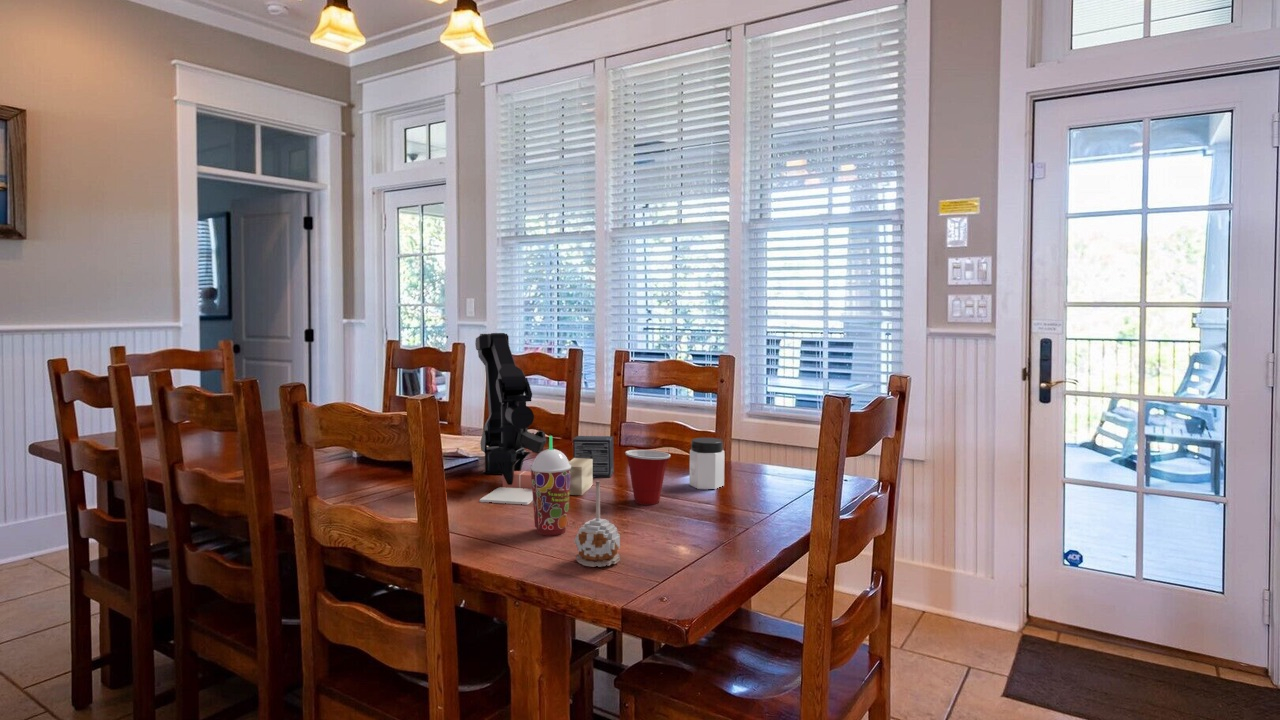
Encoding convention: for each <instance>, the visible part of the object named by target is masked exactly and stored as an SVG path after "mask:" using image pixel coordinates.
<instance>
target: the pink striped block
mask: <svg viewBox="0 0 1280 720" xmlns="http://www.w3.org/2000/svg"><path fill="white" fill-rule="evenodd" d="M501 475H502V478H501V479H502V487H507V488H524V489H532V478H531V471H528V470H527V471H526V470H521V471H514V475H513V482H512V485H508V484H507V482H506V480H505V478H504V476H503V474H501Z"/></svg>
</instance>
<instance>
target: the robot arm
mask: <svg viewBox="0 0 1280 720" xmlns="http://www.w3.org/2000/svg"><path fill="white" fill-rule="evenodd" d="M509 339H510V338H509V334H508V333H505V332H492V333H480V334H479V335H478V336H477V337H476V338H475V341H474V342H475V350H476V351H477V353H478V355H477V356H478V358H479V360H480V361H481V362H482V364H483V365H484V368H485V369H484V370H485V380H486V394H487V405H488V408H487V409H488V418H487V420H486V422H485V423H484V427H483V429H484V430H483V431H482V435H481V439H480V442H479V443H480V450H481V451H482V452H483V453H484V470H483V471H482V474H487V475H488V474H489V475H491V474H492V475H502V474H503V476H504V478H505V480H506V482H507V484H508V485H512V482H513V475H514V471H522V468H523V464H524V460H525V459H526V458H527V457H528V456H529V455H530V454H531V452H532V453H534V454H539V453H540V452H542V451H544V447H545V445H546V444H547V443H548V442H547V437H546V433H545V431H542V430H538V431H536V432H529V431H528V428H529V427H531V425H532V424H533V422H534V420H535V414H534V412H533V410H532V408H531V407H529V406H527V402H532V397H533V392H532V388H531V384H530V381H529V380H528V378H527V377H526V375H525V373H524V371H523V369H521V368H519V367H518V366H516V362H515V360H514V357H513V354H512V353H513V352H512V350H511V347H510V345H509V344H510V343H509V342H510V341H509ZM526 449H527V450H528V451H527V450H526Z"/></svg>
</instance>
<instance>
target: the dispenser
mask: <svg viewBox="0 0 1280 720" xmlns="http://www.w3.org/2000/svg"><path fill="white" fill-rule="evenodd" d="M568 461H569V463H570V465H571V477H570V495H569V496H583V495H584V494H585V493H586V492H587V491H588V490H590V489H591V486H592V485H593V483H594V482H593V481H594V480H593V479H594V477H593V459H585V458H572V459H571V460H568ZM593 486H594V485H593ZM593 486H592V487H593Z"/></svg>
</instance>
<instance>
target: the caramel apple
mask: <svg viewBox="0 0 1280 720" xmlns="http://www.w3.org/2000/svg"><path fill="white" fill-rule="evenodd" d="M574 545H575V546H576V547H577V551H578V554H576V555H575V556H576V557H575V558H576V559H575V561H577V562H578V564H581V565H582V566H586V567H592V568H594V567H596V566H598V567H597V568H599V567H601V568H602V567H606V565H607V566H609V567H610V566H611V565H616V564H617V563H618V562H619V561H621V554H619V553H618V550H619V549H621V534H620V533H619V532H618V527H616V526H615V524H613V523H612V522H610V520H607V519H605V518H601V481H600V480H596V481H595V518H593V519H590V520H588V521H586V522H585V523H584V524H583V525H581V527H580V528H578V533H576V537H574Z"/></svg>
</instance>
